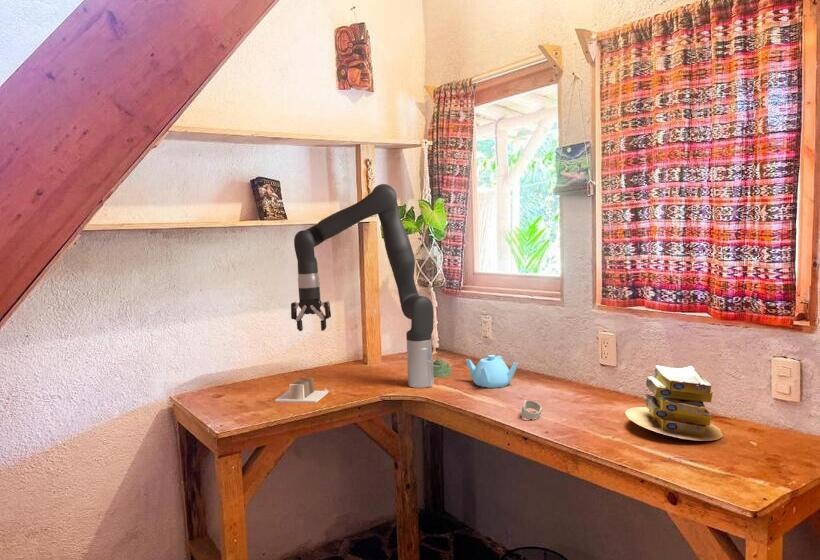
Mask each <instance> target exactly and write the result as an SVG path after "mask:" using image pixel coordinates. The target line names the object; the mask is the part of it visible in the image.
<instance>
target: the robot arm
mask: <svg viewBox="0 0 820 560" xmlns="http://www.w3.org/2000/svg"><path fill="white" fill-rule="evenodd" d="M399 210H400V209H399V204H398V199H397V192H396V190H395V189H394V188H393V187H392V186H391V185H389V184H387V183H380V184H377V185H376V186H375V187H373V188H372V190H371V192H370V193H369V194H367V195H365V197H364V198H362V199H361V200H360V201H358V202H356V203H354V204H352V205H350V206H348V207H345V208H342V209H341V210H339V211H336V212H334V213H332V214H331V215H329V216H327V217H325V218H323V219H321V220H320V221H318V223H316V224H315V225H312V226H311V227H309V228H306V229H305V230H303V229H302V230H300V231H297V232H296V234H295V235H294V240H293V243H294V245H293V247H294V252H295V256H296V257H295V258H296V260H297V275H298V276H297V284H298V285H297V286H298V299H299V302H296V301H294V302H292V303H291V304H290V317H291V318H290V319H291V320H295V322H296V328H297V330H298V332H302V331H303V328H304V327H303V317H304V316H305V315H316V316H317V317H319V319H320V331H321V332H322V331H323V332H324V331H325V330H326V329H327V320H328V319H330V318H331V317H332V312H331V306H330V305H331V304H330V300H329V301H321V290H320V288H321V282H320V277H319V268H318V260H317V257H316V255H315V247H317V246H319V245H320V244H322V243H323V242H325V241H326V240H329V239H330V238H333V237H335V236H337V235H338V234H341V233H343V232H344V231H346V230H347V229H349V228H351V227H352V226H355V225H356V224H357V223H360V222H362V221H363V220H366V219H367V218H368V219H369V218H370V217H373V216H376V215H377V216H378V219H379V221H380V224H381V229H382V236H383V242H384V248H385V251H386V255H387V259H388V262H389V265H390V268H391V272H392V275H393V278H394V280H395V284H396V288H397V291H398V292H397V293H398V297H399V303H400V308H401V311H402V314H403V315H404V316H405V318H407V319H408V320H411V321H410V323H411V326H410V329H409V330H407V331H406V360H407V385H408V387H410V388H417V389H418V388H419V389H423V388H431V387H432V386H433V385H434V383H435V377H434V367H433V361H434V358H433V350H432V349H433V347H432V345H433V344H432V334H433V331H434V321H435V320H434V316H435V315H434V314H435V313H434V305H433V302H432V300H431V299H430V298H428V297H426V296H423V295H420V294H419V292H418V289H417V286H416V283H415V269H416V268H415V267H416V260H415V254H414V250H413V248H412V247H413V246H412V245H411V242H410V239H409V235H408V234H407V231H406V228H405V226H404V224H403V222H402V219H401V215H400V211H399ZM322 307H323V308H324V311H323V310H322V309H321V308H322ZM298 308H300V309H301V310H300V311H299V313H297V312H298V311H297V309H298Z"/></svg>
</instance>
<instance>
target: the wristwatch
mask: <svg viewBox="0 0 820 560" xmlns="http://www.w3.org/2000/svg"><path fill="white" fill-rule="evenodd" d="M527 409H533V410H535V411H537V412H531V411H528V410H527ZM520 411H521V412H520V416H521V417H522V418H523V419H525V418H526V419H525V420H527V419H534V418H538V417H539V418H540V417H541V416H540V415H542V411H543V407H542V405H541V404H540V403H539V402H536V401H535V400H530V399H528V400H527V399H525V400H523V403H522V406H521V410H520ZM539 418H538V419H539Z"/></svg>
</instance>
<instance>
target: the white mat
mask: <svg viewBox="0 0 820 560" xmlns="http://www.w3.org/2000/svg"><path fill="white" fill-rule="evenodd" d="M328 393H329V390H314V392H313V393H311V394H310V395H309V396H307V397H306V398H305V399H290V392H289V390H287V391H286V392H284V393H283V394H281V395H279V396H278V397H276V398H275V399H274V402H275V403H309V404H312V403H313V404H315V403H317V402H319V401H320V400H321V399H322V398H324V397H325V396H326V395H327V394H328Z"/></svg>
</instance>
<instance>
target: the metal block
mask: <svg viewBox="0 0 820 560" xmlns="http://www.w3.org/2000/svg"><path fill="white" fill-rule="evenodd" d="M288 387H289V388H288V391H289V392H290V399H305V398H306V397H307V396H309V395H310V394H311V393H313V392H314V391H315V389H314V378H313V377H299V378H298V379H296V380H294V381H293V382H291V383H290V384H289V386H288Z"/></svg>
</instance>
